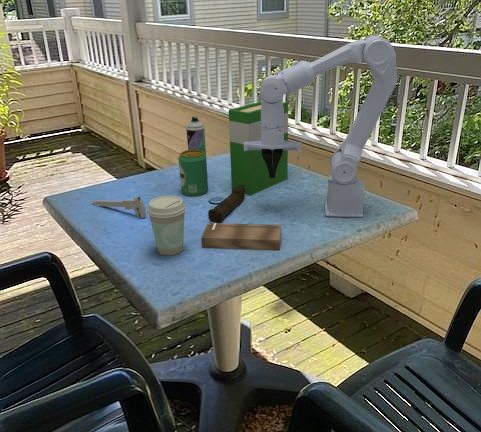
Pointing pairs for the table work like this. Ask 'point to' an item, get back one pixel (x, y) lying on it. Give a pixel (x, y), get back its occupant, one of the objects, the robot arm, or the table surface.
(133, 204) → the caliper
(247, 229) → the walnut board
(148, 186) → the table surface
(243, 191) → the dark brown rod
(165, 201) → the coffee cup
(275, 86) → the robot arm
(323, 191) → the table surface
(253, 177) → the hardback book
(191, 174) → the green can
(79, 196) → the table surface
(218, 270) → the table surface
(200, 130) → the spray can
